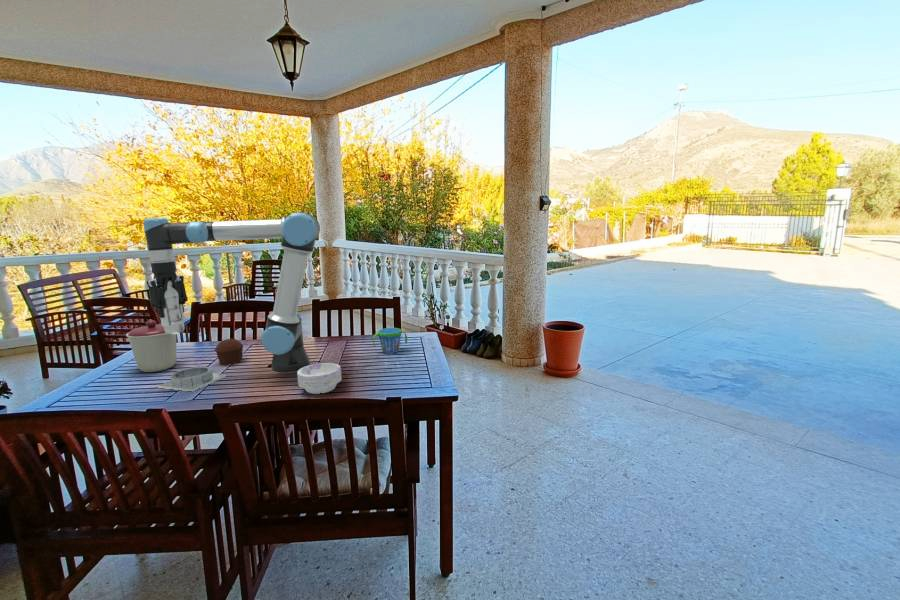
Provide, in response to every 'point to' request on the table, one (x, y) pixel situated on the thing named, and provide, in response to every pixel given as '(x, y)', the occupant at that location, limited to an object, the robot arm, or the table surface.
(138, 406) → the table surface
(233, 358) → the muffin
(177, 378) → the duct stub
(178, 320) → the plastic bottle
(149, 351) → the canister
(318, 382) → the paper bowls
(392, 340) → the snack cup
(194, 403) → the table surface
